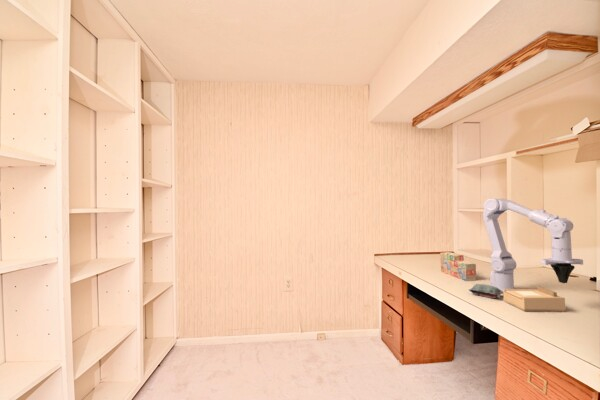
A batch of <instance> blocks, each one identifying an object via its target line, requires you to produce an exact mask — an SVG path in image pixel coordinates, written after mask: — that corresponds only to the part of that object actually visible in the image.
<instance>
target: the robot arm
mask: <svg viewBox="0 0 600 400" xmlns="http://www.w3.org/2000/svg"><path fill="white" fill-rule="evenodd" d="M482 206H483V213H482V218H483V222H484V225H485V228H486V232H487V236H488V239H489V242H490V246H491V250H492V253H491V255H490V266H491V269H492V270H491V272H490V274H489V281H490V284H489V285H491V286H494V287H497V288H498V289H499V290H502V291H503V289H515V284H514V283H515V278H514V271H515V269H516V268H517V262H516V260H515V259H514V258H513V256H512V254H511V253H510V252H509V251H508V250H507V246H506V244H505V241H504V240H505V239H504V237H503V234H502V230H501V228H500V227H501V226H500V224H499V221H498V218H499V217H500V216H502V214H504V213H506V212H507V211H512V212H515V213H517V214H520V215H523V216H525V217H528V218H529V221H530V222H532V223H535V224H537V225H539V226H541V227H544V228H546V229H547V230H548V231H549V232H550V238H551V239H550V240H551V241H550V242H551V243H550V244H551V258H544V259H543V258H541V260H540V262H541V265H544V266H549V265H550V267H551V268H552V269H553V270H554V274H555V275H556V277H557V280H558V282H559V283H562V284H567V283H568V282H569V278H570V276H571V273H572V272H573V270H574V269H576V267H575V265H581V266H582V265H584V260H583V259H580V258H573V253H572V252H573V251H572V237H571V236H572V235H571V234H572V233H571V231H572V230H573V229H574V224H573V222H572V221H571V220H570V219H568V218H566V217H561V218H560V216H559V215H556V214H555V215H554V214H551V213H548V212H546V210H545V209H535V210H533V209H531V208H528V207H526V206H524V205H522V204H520V203H517V202H515V201H513V200H511V199H507V198H504V197H503V198H487V199H486V201H485V202H484V203H483V205H482Z"/></svg>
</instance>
